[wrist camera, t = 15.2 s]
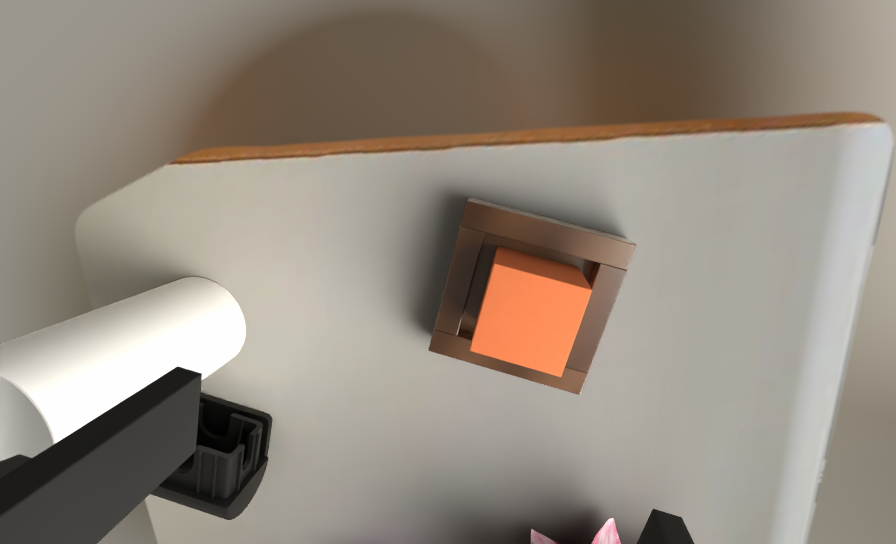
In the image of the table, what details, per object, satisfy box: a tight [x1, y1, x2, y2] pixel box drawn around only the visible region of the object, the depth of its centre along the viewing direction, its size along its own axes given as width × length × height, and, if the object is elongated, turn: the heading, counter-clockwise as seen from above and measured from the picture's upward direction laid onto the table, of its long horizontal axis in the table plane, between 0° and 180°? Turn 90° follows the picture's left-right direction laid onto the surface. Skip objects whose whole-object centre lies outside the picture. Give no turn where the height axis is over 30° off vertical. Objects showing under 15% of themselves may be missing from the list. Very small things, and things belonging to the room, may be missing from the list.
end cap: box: [150, 393, 272, 520], centre depth 37 cm, size 10×7×7 cm
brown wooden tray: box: [429, 198, 636, 395], centre depth 31 cm, size 12×12×2 cm
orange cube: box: [470, 246, 592, 377], centre depth 29 cm, size 6×6×6 cm
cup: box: [0, 277, 246, 461], centre depth 30 cm, size 8×8×16 cm
